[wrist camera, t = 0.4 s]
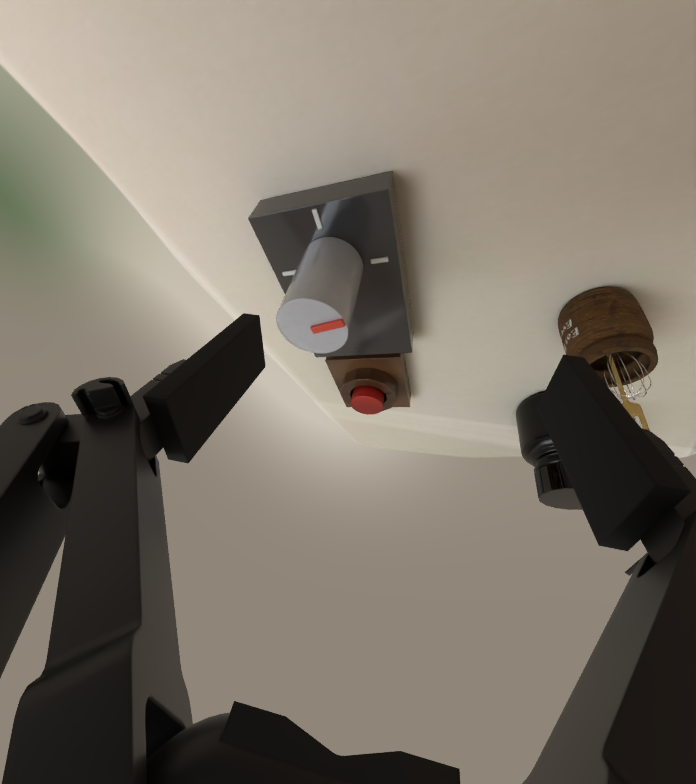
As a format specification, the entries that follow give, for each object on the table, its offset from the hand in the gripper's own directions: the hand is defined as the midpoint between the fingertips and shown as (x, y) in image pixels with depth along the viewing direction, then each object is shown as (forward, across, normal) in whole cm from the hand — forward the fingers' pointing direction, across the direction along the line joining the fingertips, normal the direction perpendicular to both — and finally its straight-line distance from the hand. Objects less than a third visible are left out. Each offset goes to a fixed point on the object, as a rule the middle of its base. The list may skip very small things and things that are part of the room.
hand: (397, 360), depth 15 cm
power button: (+20, -3, -16) cm, 26 cm away
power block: (+23, -3, -15) cm, 28 cm away
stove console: (+18, -6, -2) cm, 19 cm away
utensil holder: (+20, +17, -3) cm, 26 cm away
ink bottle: (+25, +21, -18) cm, 37 cm away
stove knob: (+15, -7, 0) cm, 16 cm away
